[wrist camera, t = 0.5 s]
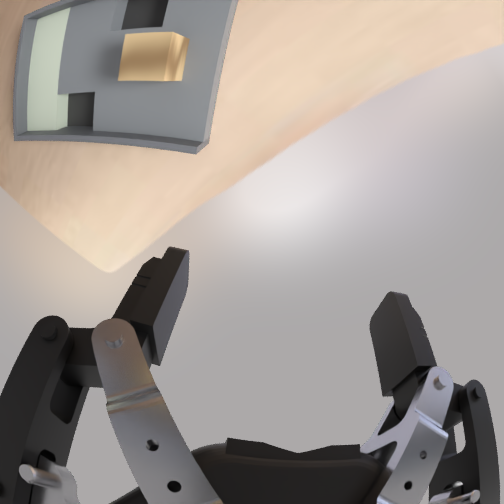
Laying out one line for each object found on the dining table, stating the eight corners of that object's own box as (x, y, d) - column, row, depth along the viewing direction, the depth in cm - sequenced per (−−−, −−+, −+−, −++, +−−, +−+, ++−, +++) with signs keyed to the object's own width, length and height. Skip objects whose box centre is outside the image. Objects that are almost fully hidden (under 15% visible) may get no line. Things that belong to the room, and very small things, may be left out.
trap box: (48, 16, 18) (24, 15, 14) (240, -8, 19) (232, -24, 15) (37, 130, 30) (14, 140, 25) (208, 143, 31) (196, 154, 26)
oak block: (147, 39, 21) (125, 34, 17) (189, 38, 21) (172, 31, 17) (140, 79, 24) (117, 80, 20) (181, 80, 24) (163, 81, 20)
